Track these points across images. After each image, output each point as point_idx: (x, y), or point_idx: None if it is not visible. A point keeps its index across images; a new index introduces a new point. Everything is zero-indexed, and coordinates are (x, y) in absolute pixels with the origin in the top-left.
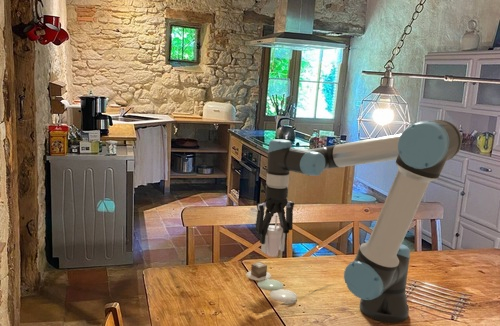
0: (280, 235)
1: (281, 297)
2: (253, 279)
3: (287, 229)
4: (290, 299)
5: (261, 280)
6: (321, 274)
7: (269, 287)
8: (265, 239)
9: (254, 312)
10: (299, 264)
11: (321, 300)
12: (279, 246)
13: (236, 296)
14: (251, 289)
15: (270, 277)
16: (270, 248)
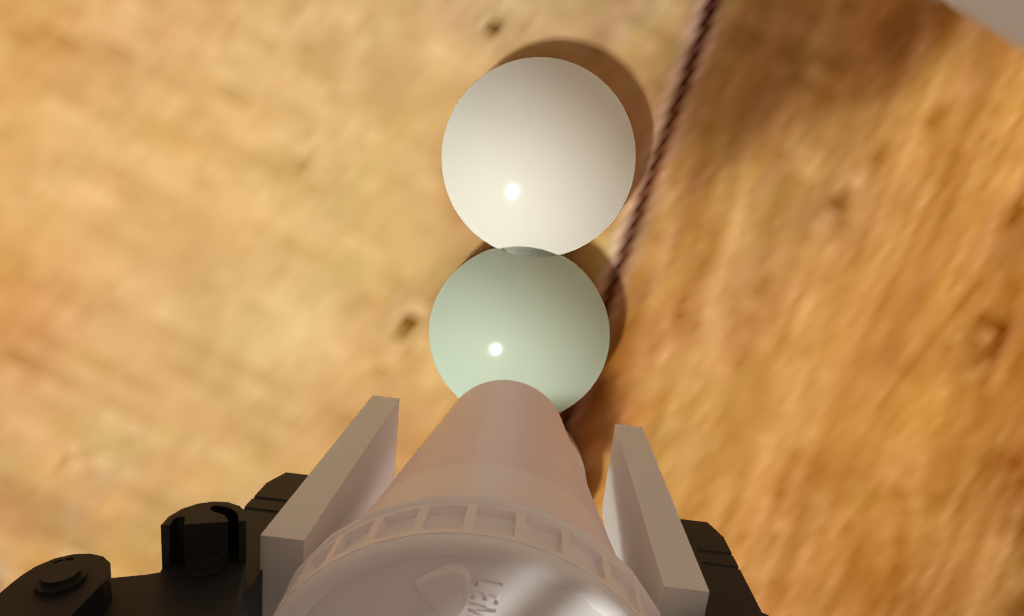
0: (416, 491)
1: (572, 138)
2: (575, 453)
3: (165, 582)
4: (533, 81)
5: None
6: (71, 328)
7: (552, 305)
8: (685, 549)
9: (835, 93)
10: (127, 515)
11: (310, 7)
12: (385, 477)
13: (792, 336)
14: (644, 371)
15: None
16: (570, 445)
